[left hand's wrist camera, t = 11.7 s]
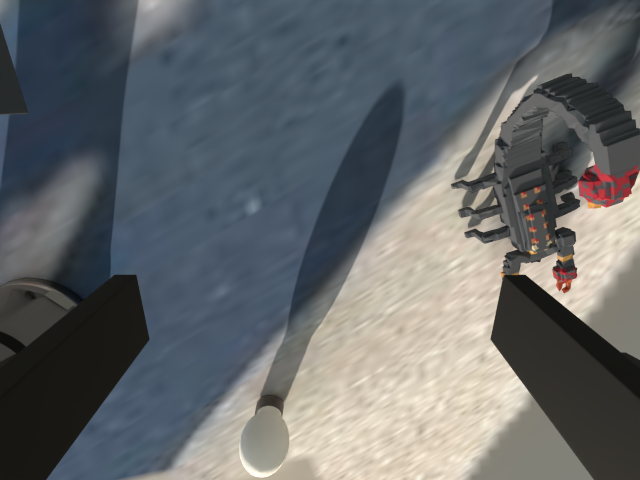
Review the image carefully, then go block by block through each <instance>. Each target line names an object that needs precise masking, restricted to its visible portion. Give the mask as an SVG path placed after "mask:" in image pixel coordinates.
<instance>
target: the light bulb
mask: <svg viewBox="0 0 640 480" xmlns="http://www.w3.org/2000/svg"><path fill="white" fill-rule="evenodd" d="M282 414H283V402H282V400H281V399H279V398H278V397H275V396H265V397H262V398H260V399H259V400H258V402H257V406H256V411H255V416H253V417H252V418H251V419H250V420H249V421H248V423H247V424H246V426H245V428H244V430H243V432H242V435H241V439H240V445H239V447H240V457H241V461H242V464H243V466H244V467H245V469H246V470H247V471H248V472H249V473H250V474H251V475H253V476H256V477H267V476H269V475H271V474H273V473H274V472H276V471H277V470H278V469H279V468H280V466H281V465H282V463H283V462H284V460H285V458H286V455H287V452H288V448H289V432H288V428H287V425H286V423H285V421H284V420H283V418H282Z"/></svg>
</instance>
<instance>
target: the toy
mask: <svg viewBox="0 0 640 480" xmlns="http://www.w3.org/2000/svg"><path fill="white" fill-rule="evenodd" d="M537 88H538V89H535V90H534V94H531V95H529V96H527V97H524V98H523V99H522V101H520V102H521V103H520V104H518V107H515V110H513V111H512V112H513V113H512V114H511V115H510V117H508V119H507V121H506V122H503V123H501V124H502V125H501V130H502V131H500V132H501V133H500V136H499V138H498V139H496V140H495V162H494V171H495V172H494V173H492V174H490V175H487V176H485V177H483V178H479V179H476V180H473V181H470V182H466V181H464V180H461V181H459V182H456V183H453V184H451V186H452V189H456V188H464V189H466V190H468V191H470V192H471V193H473V192H475V191H478V190H480V189H486V188H488V187H490V186H493V185H494V186H493V187H494V192H495V197H496V199H497V204H498V205H494V206H490V207H487V208H484V209H481V210H476V211H474V210H473V209H472V208H471V207H465V208H463V209H460V210H458V212H459V215H460V217H461V218H463V217H467V216H473V217H474V218H476V219H479V220H482V219H485V218H488V217H491V216H494V215H497V214H500V219H501V222H503V223H504V224H506V226H504V227H501V228H499V229H495V230H491V231H487V232H484V233H483V232H480V231H478V230H477V229H473V230H470V231H467V232H465V237H466V238H470V237H476V238H477V239H479V240H480V241H481V242H483V243H489V242H493V241H496V240H500V239H503V238H506V237H508V238H509V239H510V240H511V243H512V245H513V246H514V247H515V248H517V249H518V250H515V251H512V252H508V253H506V255H505V258H506V260H504V261H503V264H504V267H502V268H503V272H501V276H502V280H503V276H504V275H519V270H520V264H521V263H522V262H524V263H529V262H531V263H533V262H540V261H541V259H542V258H544V257H547V256H549V255H551V254H554V253H555V252H557V256H558V260H557V261H556V264H557V266H555V267H553V269H552V270H553V275H554V278H555V279H557V285H556V286H557V288H558V290H559V291H560V290H561V288H562V285H563V284H564V283H566V287H564V288H563V289H562V291H563V292H564V293H566V292H567V291H569V290H570V288H571V282H572V279H575V278H576V277H577V273H576V272H577V268H576V267H575V265H574V260H573V256H572V255H574V248H573V245H574V244H575V242H576V235H575V232H574V231H571V229H568V228H564V227H562V228H559V229H557V230H555V228H556V227H557V226H556V219H555V218H558V217H560V216H563V215H565V214H567V213H569V212H571V211H574V210H576V209H577V208H578V207H580V205H579V203H580V200H578V199H575V196H574V194H573V193H572V192H569V193H567V194H564V195H562V196H561V200H562V201H563V202H565V203H562V204H560V205H557V203H556V198H555V194H557V193H560V192H561V191H563V190H564V189H567V188H569V187H572V186H573V185H574V184H575V183H576V182H577V177H576V176H572V171H570V170H565V171H563V172H560V173H557V174H555V176H556V179H559V180H556V181H554V182H552V180H551V176H550V171H549V166H550V165H552V164H555V163H557V162H560V161H562V160H565V159H567V158H569V157H572V156H573V155H572V149H571V148H567V143H566V142H561V143H558V144H556V145H553V148H554V150H553V151H554V153H553V154H550V155H548V156H546V155H545V152H544V151H542V150H541V145H542V127H543V124H542V123H543V119H542V118H544V117H547V114H548V113H549V112H548V111H552V112H555V113H556V114H557V116H561V117H562V118H563V119H564V121H565V123H566V125H567V127H568V128H573V129H575V131H576V133H577V135H578V137H579V138H580V139H581V140H582V142H585V144H588V146H589V149H590V150H591V151H592V152H593V155H594V160H595V165H594V166H592V167H589V168H586V169H587V170H585V174H584V175H583V176H582V177H581V178H580V180H579V181H578V183H579V194H580V196H582V197H584V198H585V199H586V200H587V201H588V208H601V205H602V206H604V207H606V208H607V207H609V206H612V205H615V204H618V203H621V202H623V199H624V198H625V197H628V196H629V194H632V193H631V188H632V187H633V186H634V184H635V181H636V178H637V176H638V173H639V171H640V128H636V121H635V120H632V117H631V111H625V110H624V105H623V104H621V103H620V102H618V100H617V99H616V98H612V94H610V93H608V92H607V91H606V90H605V89H604V88H603V87H602V86H601V87H599V86H598V83H587V82H586V79H581V78H580V77H572V73H571V74H566V75H563V76H561V77H558V78H556V79H553V80H551V81H548V82H546V83H543V84H541V85H539V86H537Z"/></svg>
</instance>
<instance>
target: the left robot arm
mask: <svg viewBox="0 0 640 480" xmlns="http://www.w3.org/2000/svg"><path fill="white" fill-rule="evenodd" d="M148 341H149V335H148V330H147V325H146V320H145V315H144V310H143V306H142V301H141V296H140V291H139V286H138V281H137V276H136V275H114V276H113V277H112V278H110V279H109V280H108V281H107V282H105V283H104V284H103V285H102V286H100V287H99V288H98V289H97V290H96V291H94V292H93V293H92V294H91V295H89V296H88V297H87V298H86V299H84V300H83V301H82V300H81V299H80V298H79V297H78V296H77V295H75V294H74V293H73V292H71V291H70V290H68V289H66V288H64V287H62V286H60V285H58V284H56V283H53V282H50V281H46V280H41V279H34V278H25V279H17V280H13V281H10V282H8V283H6V284H4V285H2V286H0V480H46V479H47V478H48V476H49V475H50V474H51V472H52V471H53V470H54V468H55V467H56V465H57V464H58V463H59V461H60V460H61V459H62V457H63V456H64V455H65V453H66V452H67V451H68V449H69V448H70V447H71V445H72V444H73V442H74V441H75V440H76V438H77V437H78V436H79V434H80V433H81V432H82V430H83V429H84V428H85V426H86V425H87V423H88V422H89V421H90V419H91V418H92V417H93V415H94V414H95V413H96V411H97V410H98V409H99V407H100V406H101V404H102V403H103V402H104V400H105V399H106V398H107V396H108V395H109V394H110V392H111V391H112V390H113V388H114V387H115V385H116V384H117V383H118V381H119V380H120V379H121V377H122V376H123V375H124V373H125V372H126V371H127V369H128V368H129V366H130V365H131V364H132V362H133V361H134V360H135V358H136V357H137V356H138V354H139V353H140V352H141V350H142V349H143V347H144V346H145V345H146V343H147V342H148ZM491 341H492V342H493V343H494V345H495V346H496V347H497V349H498V350H499V352H500V353H501V354H502V356H503V357H504V358H505V360H506V361H507V362H508V364H509V365H510V366H511V368H512V369H513V371H514V372H515V373H516V375H517V376H518V377H519V379H520V380H521V381H522V383H523V384H524V385H525V387H526V388H527V390H528V391H529V392H530V394H531V395H532V396H533V398H534V399H535V400H536V402H537V403H538V404H539V406H540V407H541V409H542V410H543V411H544V413H545V414H546V415H547V417H548V418H549V419H550V421H551V422H552V423H553V425H554V426H555V428H556V429H557V430H558V432H559V433H560V434H561V436H562V437H563V438H564V440H565V441H566V442H567V444H568V445H569V446H570V448H571V449H572V451H573V452H574V453H575V455H576V456H577V457H578V459H579V460H580V461H581V463H582V464H583V465H584V467H585V468H586V470H587V471H588V472H589V474H590V475H591V476H592V478H593V479H594V480H640V360H639V359H637V358H635V357H633V356H631V355H629V354H627V353H621V352H619V351H618V350H617V349H616V348H615V347H613V346H612V345H611V344H610V343H608V342H607V341H606V340H605V339H604V338H602V337H601V336H600V335H599V334H597V333H596V332H595V331H594V330H592V329H591V328H590V327H589V326H588V325H586V324H585V323H584V322H583V321H581V320H580V319H579V318H578V317H576V316H575V315H574V314H573V313H572V312H570V311H569V310H568V309H567V308H565V307H564V306H563V305H562V304H560V303H559V302H558V301H557V300H556V299H554V298H553V297H552V296H551V295H549V294H548V293H547V292H546V291H544V290H543V289H542V288H541V287H540V286H538V285H537V284H536V283H535V282H533V281H532V280H531V279H530V278H528V277H527V276H526V275H504V276H503V281H502V286H501V291H500V296H499V301H498V306H497V310H496V315H495V320H494V325H493V330H492V335H491Z"/></svg>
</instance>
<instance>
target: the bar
mask: <svg viewBox="0 0 640 480" xmlns="http://www.w3.org/2000/svg"><path fill="white" fill-rule="evenodd" d="M27 113H28V111H27V108H26V105H25V101H24V98H23V95H22V92H21V89H20V85H19V82H18V79H17V76H16V73H15V69H14V66H13V63H12V60H11V57H10V53H9V50H8V47H7V44H6V41H5V37H4V34H3V31H2V28H1V25H0V115H2V114H27Z"/></svg>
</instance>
